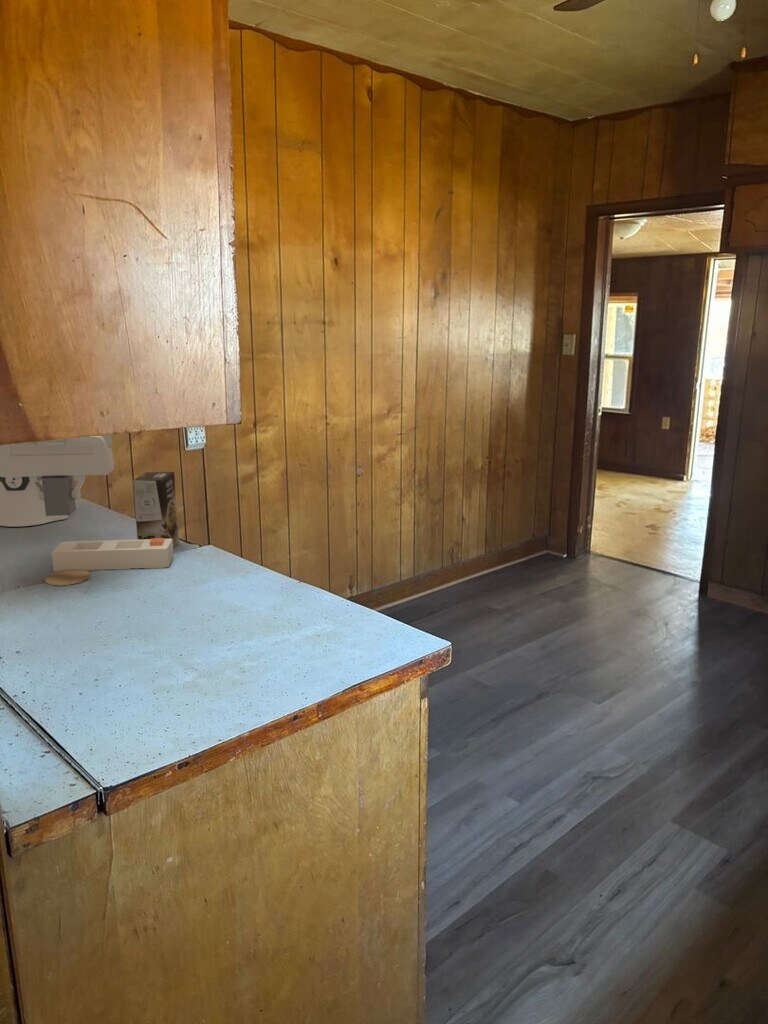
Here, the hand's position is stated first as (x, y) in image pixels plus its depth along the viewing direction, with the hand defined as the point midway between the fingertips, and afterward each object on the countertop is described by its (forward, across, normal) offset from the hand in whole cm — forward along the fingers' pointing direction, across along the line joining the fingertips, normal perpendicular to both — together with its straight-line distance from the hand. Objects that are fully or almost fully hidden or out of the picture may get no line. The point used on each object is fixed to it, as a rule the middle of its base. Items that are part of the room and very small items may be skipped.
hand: (59, 499), depth 139 cm
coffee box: (+16, -14, -18) cm, 28 cm away
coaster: (+16, 0, 0) cm, 16 cm away
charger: (+3, 0, 0) cm, 3 cm away
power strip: (+16, -7, -8) cm, 19 cm away
